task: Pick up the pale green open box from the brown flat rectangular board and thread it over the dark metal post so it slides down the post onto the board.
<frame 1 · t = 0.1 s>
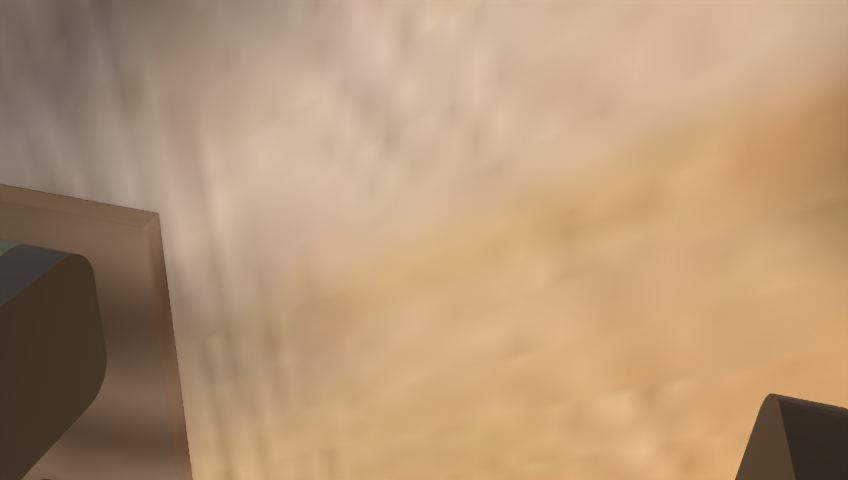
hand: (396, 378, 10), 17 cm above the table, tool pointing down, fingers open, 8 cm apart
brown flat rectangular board: (49, 390, 38), on the table
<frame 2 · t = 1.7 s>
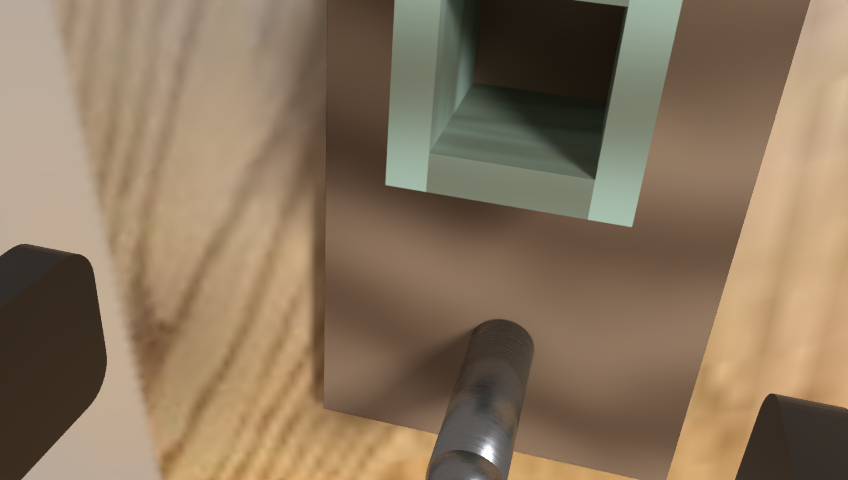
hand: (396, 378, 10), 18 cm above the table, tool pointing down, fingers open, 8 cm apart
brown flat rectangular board: (527, 188, 28), on the table
metal post: (502, 346, 30), resting on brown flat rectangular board
pale green open box: (548, 25, 24), point 1 cm above the table, touching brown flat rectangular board
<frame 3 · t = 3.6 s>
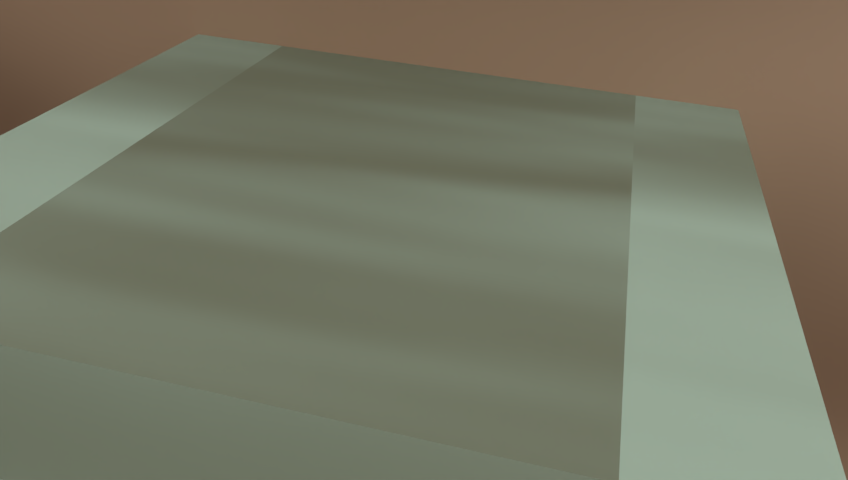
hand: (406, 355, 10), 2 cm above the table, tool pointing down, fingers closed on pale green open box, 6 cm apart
pale green open box: (432, 299, 11), point 1 cm above the table, touching gripper, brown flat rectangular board
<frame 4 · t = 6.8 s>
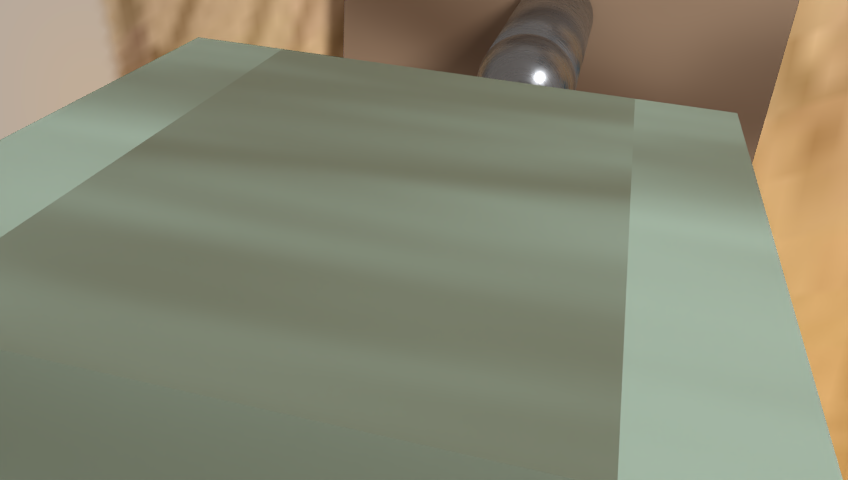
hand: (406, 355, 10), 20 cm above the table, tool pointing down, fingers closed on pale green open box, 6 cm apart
metal post: (554, 18, 26), resting on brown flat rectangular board
pale green open box: (431, 302, 11), point 18 cm above the table, touching gripper
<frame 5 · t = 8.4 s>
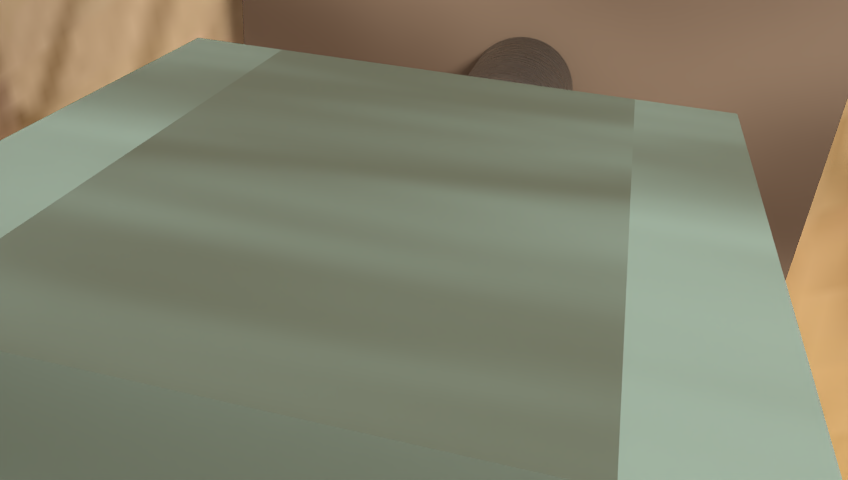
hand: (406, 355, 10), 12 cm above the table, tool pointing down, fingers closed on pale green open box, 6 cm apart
metal post: (520, 87, 19), resting on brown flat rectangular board
pale green open box: (431, 302, 11), point 11 cm above the table, touching gripper
when the fingers open (8 cm above the table, at t = 9.9 s): pale green open box drops 6 cm, resting on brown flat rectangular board.
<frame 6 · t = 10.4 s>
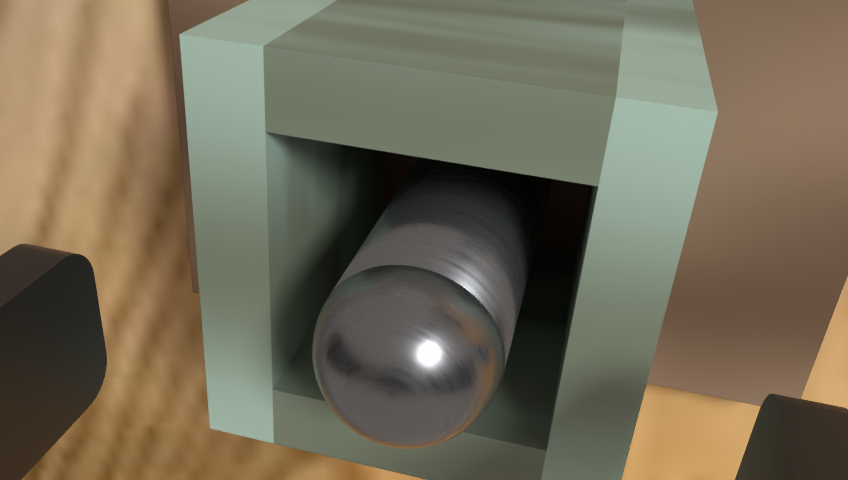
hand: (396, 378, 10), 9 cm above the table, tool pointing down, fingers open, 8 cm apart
metal post: (498, 145, 16), resting on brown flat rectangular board
pale green open box: (489, 142, 16), point 1 cm above the table, touching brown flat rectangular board
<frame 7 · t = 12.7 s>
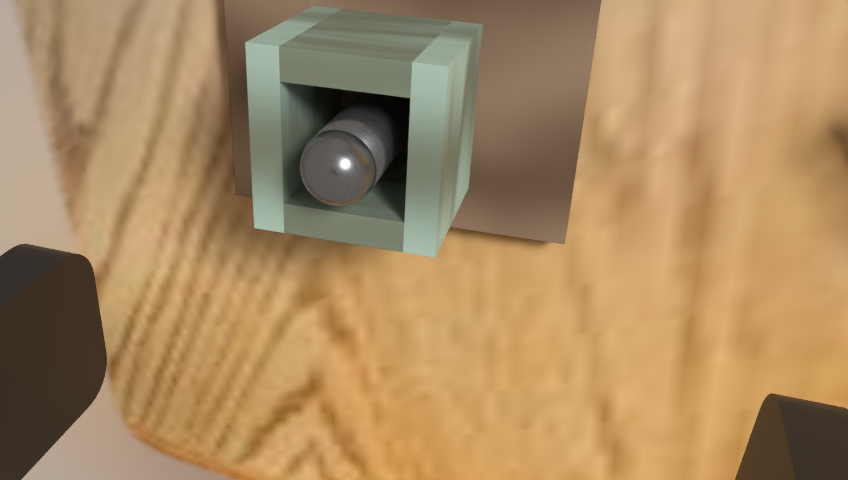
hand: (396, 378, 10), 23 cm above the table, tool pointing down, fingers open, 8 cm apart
metal post: (398, 101, 31), resting on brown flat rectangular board
pale green open box: (393, 99, 31), point 1 cm above the table, touching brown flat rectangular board
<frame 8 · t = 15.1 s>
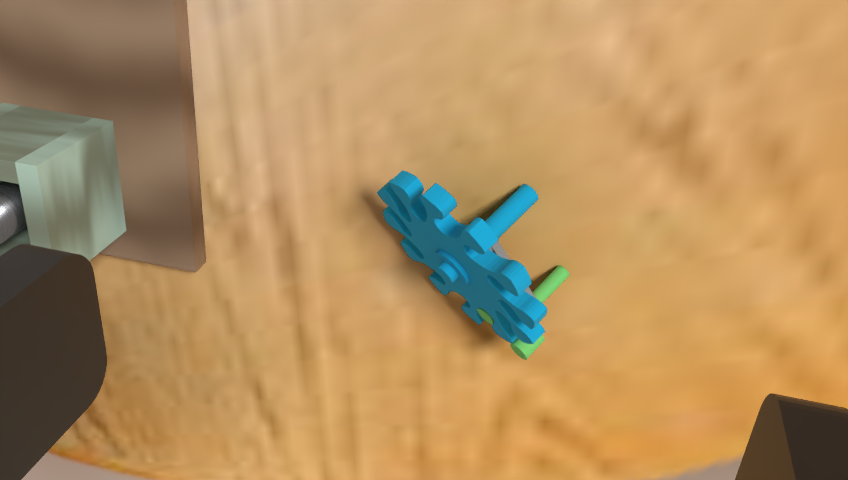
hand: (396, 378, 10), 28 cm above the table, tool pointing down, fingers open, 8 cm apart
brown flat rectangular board: (66, 53, 41), on the table
gear: (482, 230, 41), on the table
metal post: (69, 169, 43), resting on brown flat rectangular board
pale green open box: (65, 168, 43), point 1 cm above the table, touching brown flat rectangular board
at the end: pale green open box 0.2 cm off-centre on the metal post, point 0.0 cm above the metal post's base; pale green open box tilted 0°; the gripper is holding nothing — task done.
